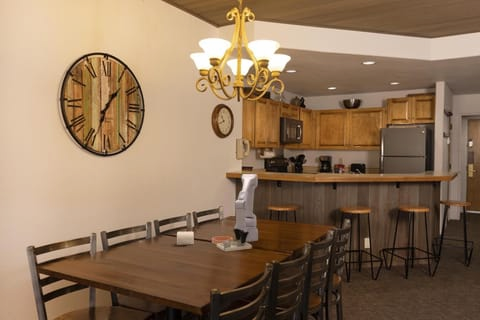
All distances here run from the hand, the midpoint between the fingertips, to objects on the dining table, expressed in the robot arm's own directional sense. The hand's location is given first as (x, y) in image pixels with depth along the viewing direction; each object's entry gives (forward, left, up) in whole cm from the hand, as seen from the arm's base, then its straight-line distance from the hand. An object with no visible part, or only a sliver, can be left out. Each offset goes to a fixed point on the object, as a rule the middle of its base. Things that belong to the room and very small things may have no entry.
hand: (240, 241), depth 234 cm
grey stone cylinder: (0, 0, -3) cm, 3 cm away
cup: (+23, -21, -1) cm, 31 cm away
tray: (+4, 0, -4) cm, 6 cm away
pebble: (+9, 0, -3) cm, 9 cm away
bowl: (+6, -15, -4) cm, 16 cm away
